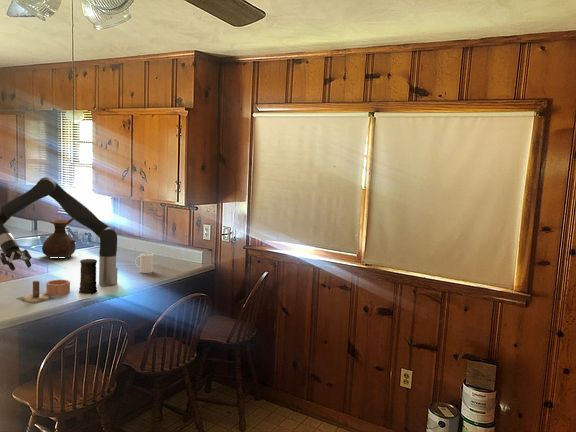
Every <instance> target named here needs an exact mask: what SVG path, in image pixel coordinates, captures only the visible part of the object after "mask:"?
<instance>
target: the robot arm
mask: <svg viewBox="0 0 576 432" xmlns="http://www.w3.org/2000/svg"><path fill="white" fill-rule="evenodd" d="M48 196H49V197H50V198H52V199H53V200H54V201H55V202H57V203H58V204H59V205H60V208H61V209H63V211H64V212H65V213H66V214H67V215H68V216H70V217H71V218H73V219H74V220H75V222H77V223H79V224H80V225H82V226H84V227H86V228H88V229H89V230H91V231H92V232H93V233H94V234H95V235H96V236H97V237H98V238H99V252H98V253H99V257H98V258H99V259H98V263H99V264H98V265H99V266H98V285H99V286H101V287H111V286H110V285H112V286H114V284H115V285H117V284H118V267H117V252H118V233H117V232H116V230H115V229H113V228H112V227H110V226H109V225H107V224H106V223H104V222H103V221H102V220H100V219H99V218H98V217H97V216H96V215H95V213H94V212H92V211H91V210H90V209H89V208H88V207H87V206H86V205H84V204H83V203H82V202H81V201H79V200H78V199H76V197H73V196H72V195H71V194H69V193H68V192H67V191H66V190H65V189H64V188H63V187H62V186H60V185H59V183H57V181H55V180H54V179H53V178H52V177H48V176H43V177H42V178H40V179H39V180H38V181H37V183H36V184H35V185H34V186H33V187H32V188H30V189H29V190H27V191H26V192H25V193H22V194H21V195H19V196H17V197H14V198H13V199H11V200H9V201H8V202H6V203H5V204H2V205H1V206H0V250H1V251H2V252H1V253H0V261H1V263H2V265H4V266H5V265H7V266H8V267H9V269H10V271H12V272H13V271H15V270H16V267H15V265H14V263H13V262H12V261H17V260H19V261H20V262H21V261H22V262H24V263H25V265H26V267H27V269H29V268H32V267H31V266H32V263H31V261H30V260H31V259H32V256H31V254H30V253H29V251H28V250H27V249H26V248H25V249H24V250H21V249H20V245H19V244H18V242H17V241H16V239H15V238H14V236H13V235H12V232H11V231H10V230H9V227H7V226H6V225H5V224H6V223H7V221H9V219H11V218H12V217H13V216H15V215H16V214H18V213H20V211H22V210H24V209H26V208H27V207H29V205H31V204H33V203H34V202H37V201H39V200H41V199H43V198H46V197H48ZM74 220H73V221H74Z"/></svg>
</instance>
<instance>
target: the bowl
mask: <svg viewBox="0 0 576 432" xmlns="http://www.w3.org/2000/svg"><path fill="white" fill-rule="evenodd" d="M45 285H46V286H45V287H46V289H45V290H46V293H45V294H47V295H49V296H63V295H66V294H69V293H70V292H71V290H70V289H71V281H70V280H68V279H52V280H49V281H47V282H46V284H45Z"/></svg>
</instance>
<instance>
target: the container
mask: <svg viewBox="0 0 576 432" xmlns="http://www.w3.org/2000/svg"><path fill="white" fill-rule="evenodd" d="M97 262H98V261H97V259H94V258H87V259H86V258H85V259H81V260H80V261H79V263H80V280H79V281H80V282H79V290H78V293H79V294H82V295H95V294H97V293H98V290H97V289H98V287H97Z"/></svg>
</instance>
